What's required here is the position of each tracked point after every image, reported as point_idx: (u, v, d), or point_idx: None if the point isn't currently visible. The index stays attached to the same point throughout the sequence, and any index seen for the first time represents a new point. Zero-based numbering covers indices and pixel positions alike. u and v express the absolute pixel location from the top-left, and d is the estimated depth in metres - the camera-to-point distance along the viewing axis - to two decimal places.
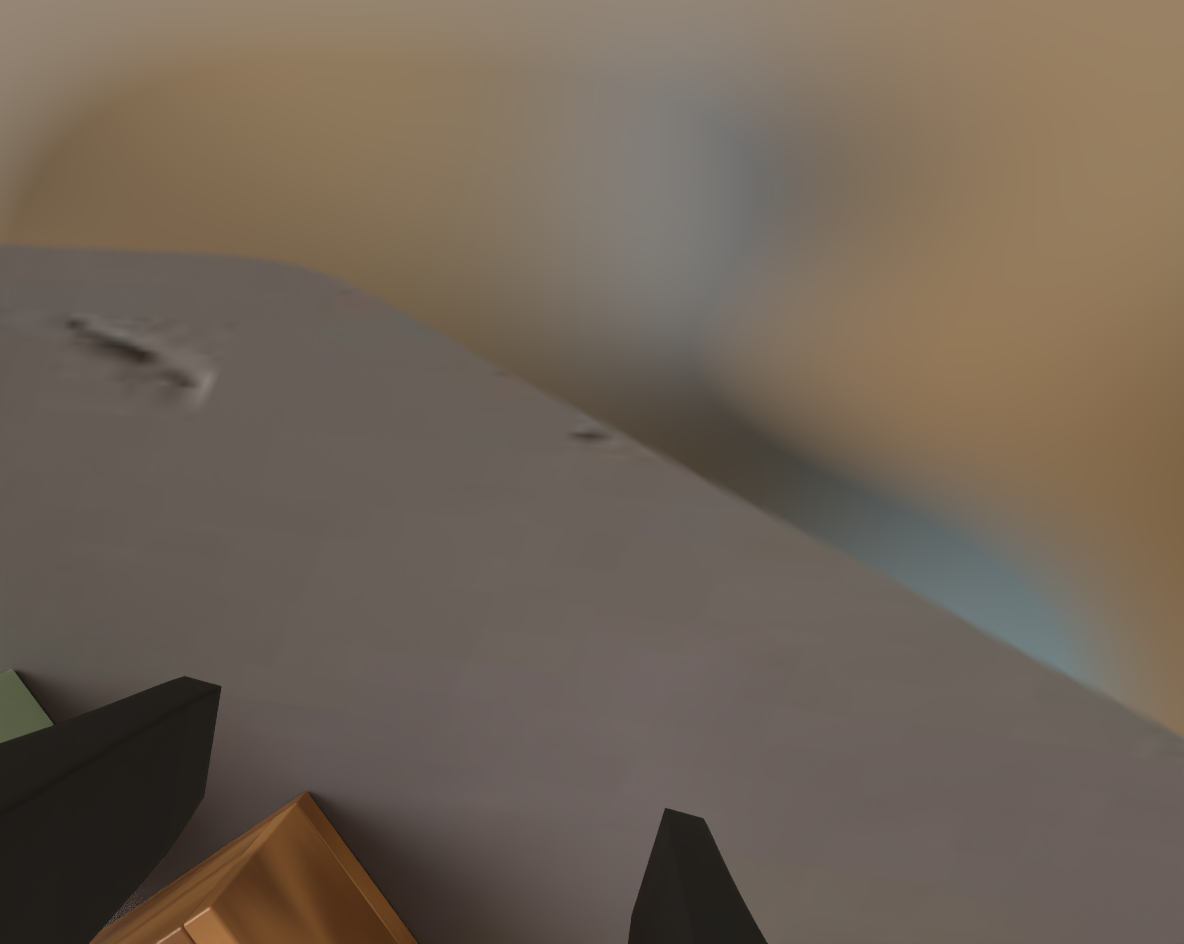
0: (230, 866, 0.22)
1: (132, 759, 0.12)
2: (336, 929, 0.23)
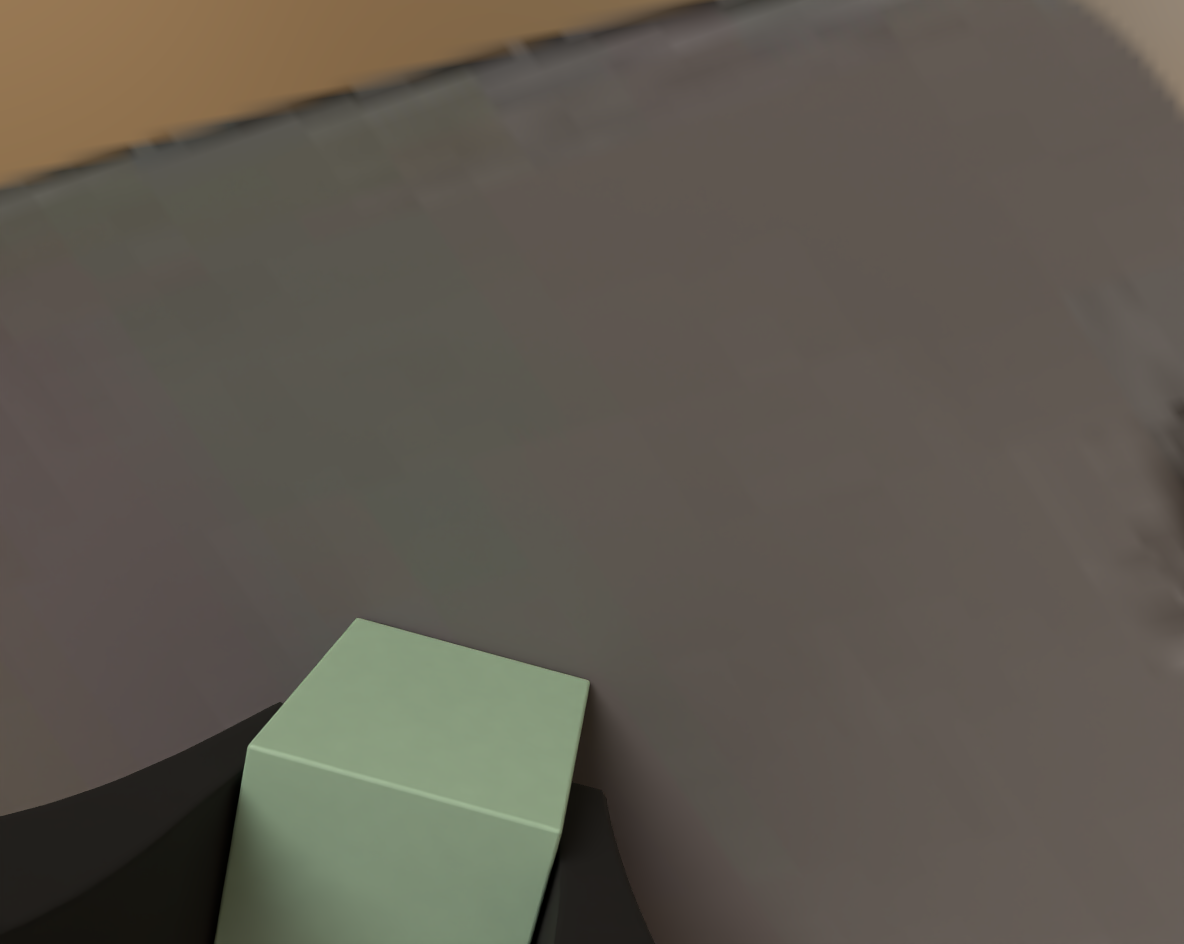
0: None
1: None
2: None
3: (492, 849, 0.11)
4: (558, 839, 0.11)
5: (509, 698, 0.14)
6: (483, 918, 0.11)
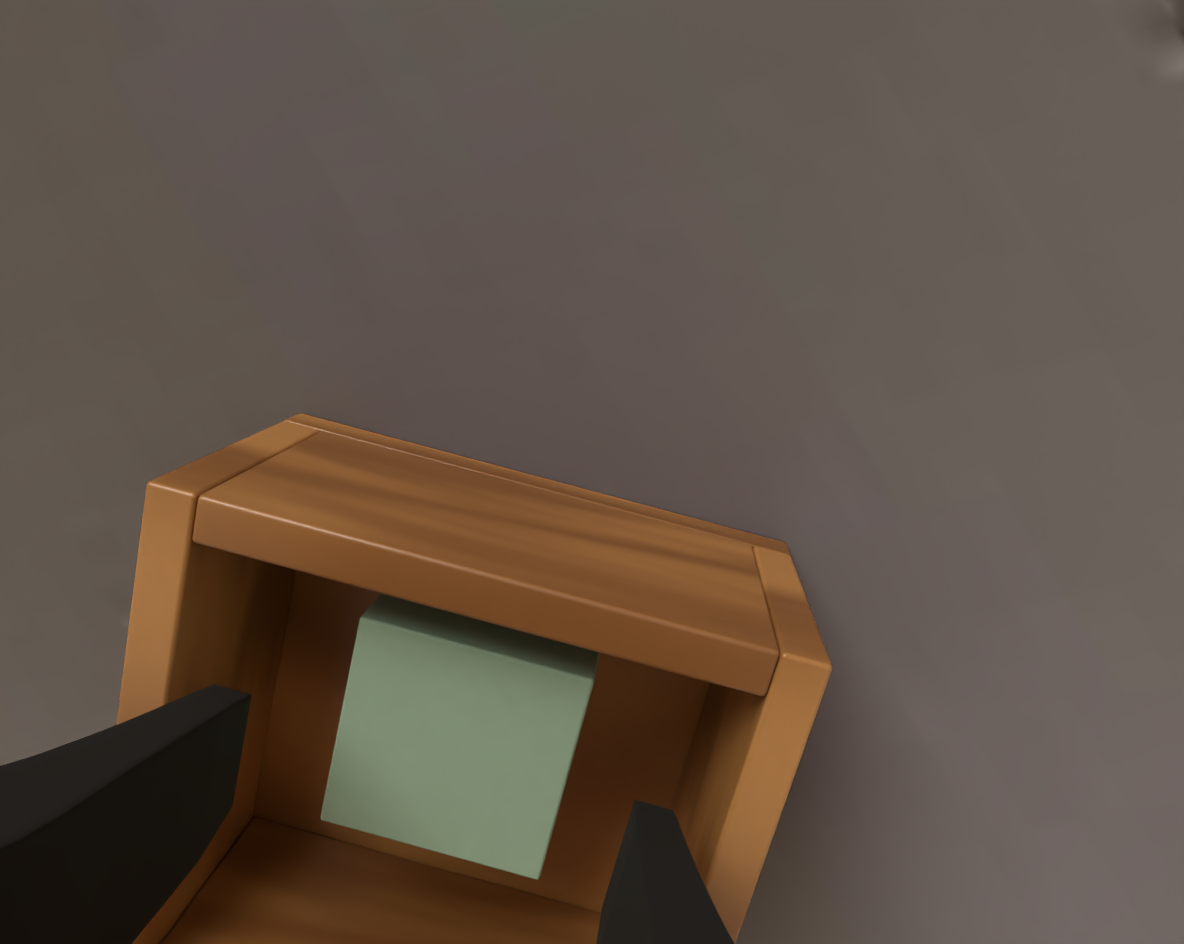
0: (758, 586, 0.16)
1: (168, 769, 0.12)
2: None
3: (542, 695, 0.15)
4: (591, 686, 0.15)
5: None
6: (535, 750, 0.15)
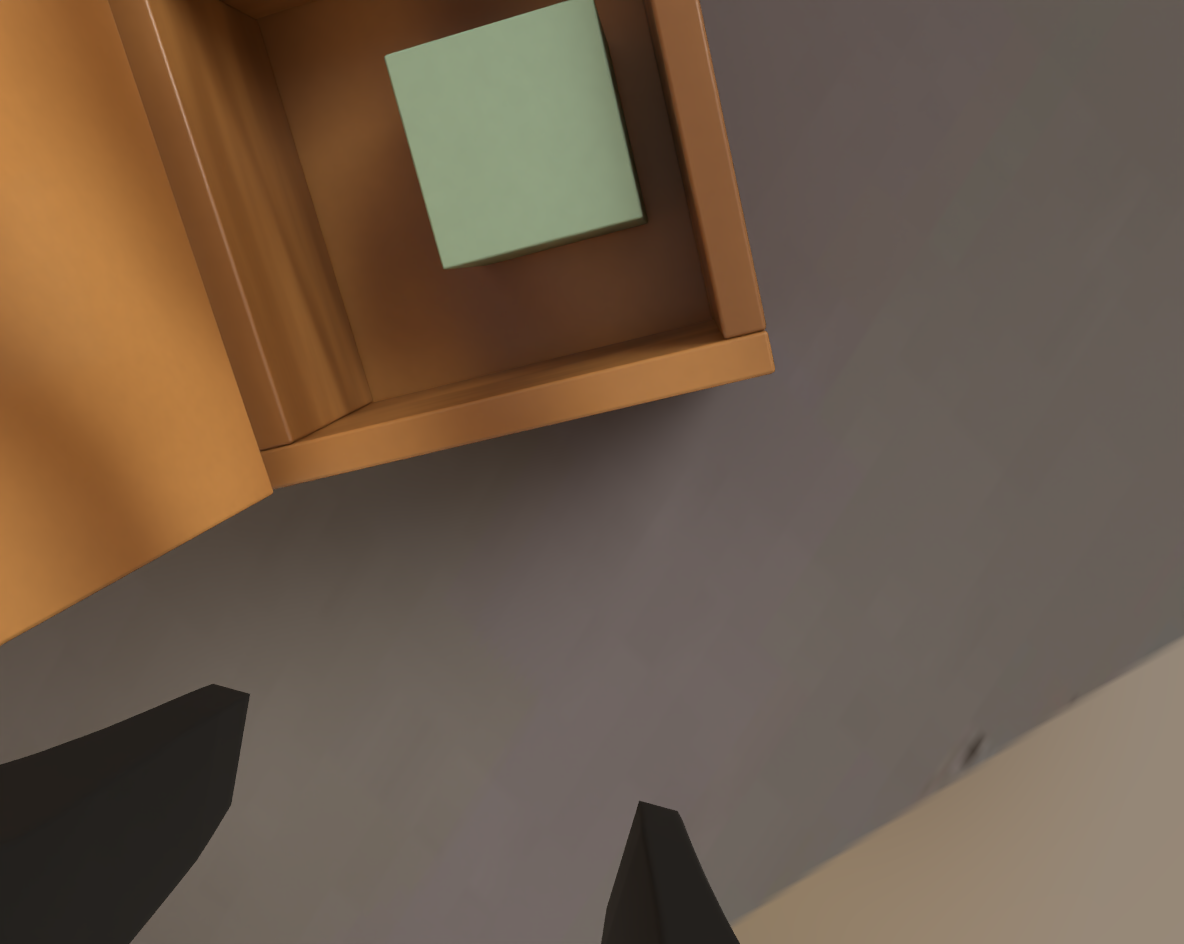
0: None
1: (166, 768, 0.12)
2: None
3: (607, 183, 0.17)
4: (636, 218, 0.17)
5: (634, 167, 0.19)
6: (557, 203, 0.17)
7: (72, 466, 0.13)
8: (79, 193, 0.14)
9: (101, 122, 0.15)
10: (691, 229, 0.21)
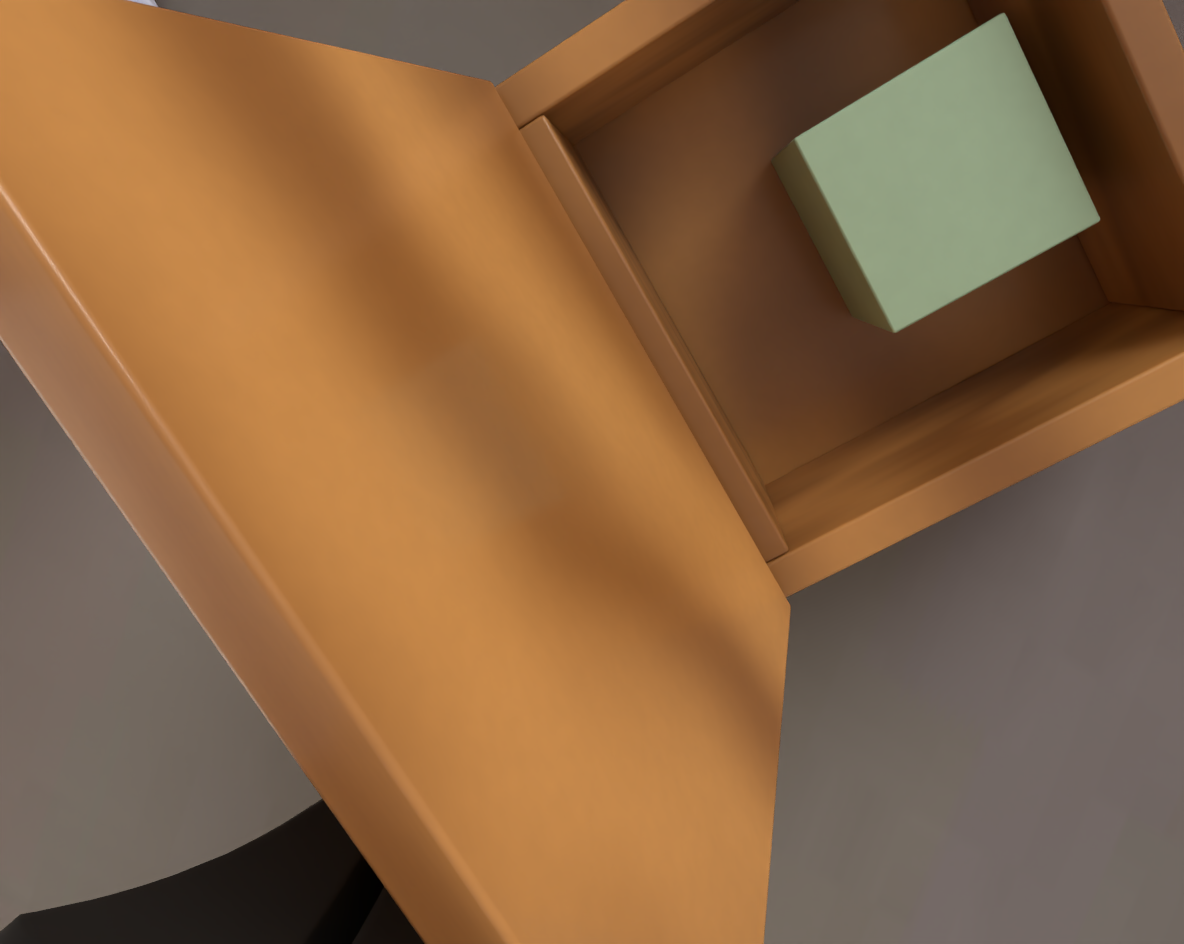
0: None
1: None
2: None
3: (1056, 196, 0.16)
4: (1095, 223, 0.16)
5: None
6: (1005, 233, 0.16)
7: (718, 655, 0.12)
8: (609, 372, 0.14)
9: (587, 292, 0.14)
10: None
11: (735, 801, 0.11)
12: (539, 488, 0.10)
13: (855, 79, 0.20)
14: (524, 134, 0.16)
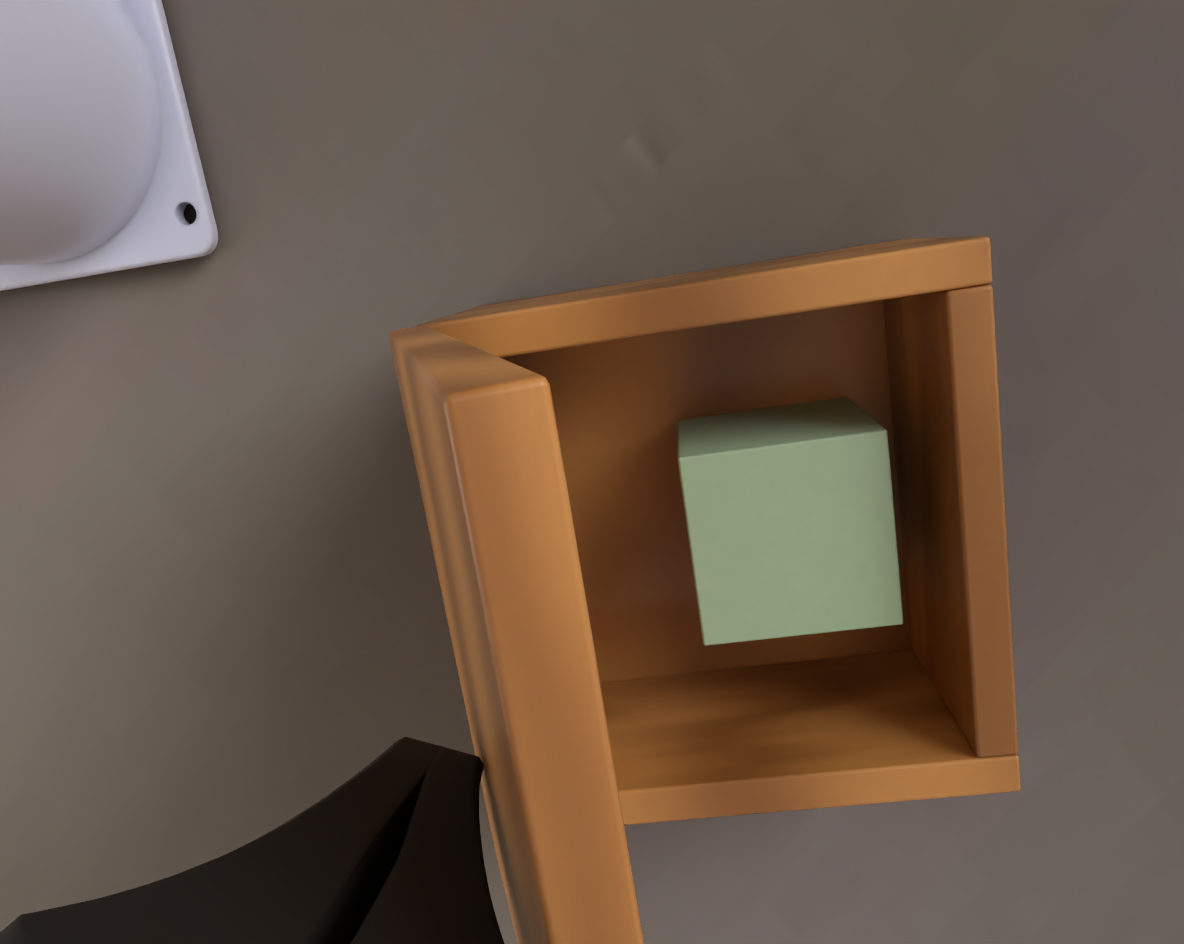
0: None
1: (393, 831, 0.12)
2: None
3: (875, 592, 0.18)
4: (897, 624, 0.18)
5: None
6: (823, 603, 0.18)
7: None
8: None
9: None
10: (903, 568, 0.22)
11: None
12: None
13: (772, 384, 0.21)
14: None
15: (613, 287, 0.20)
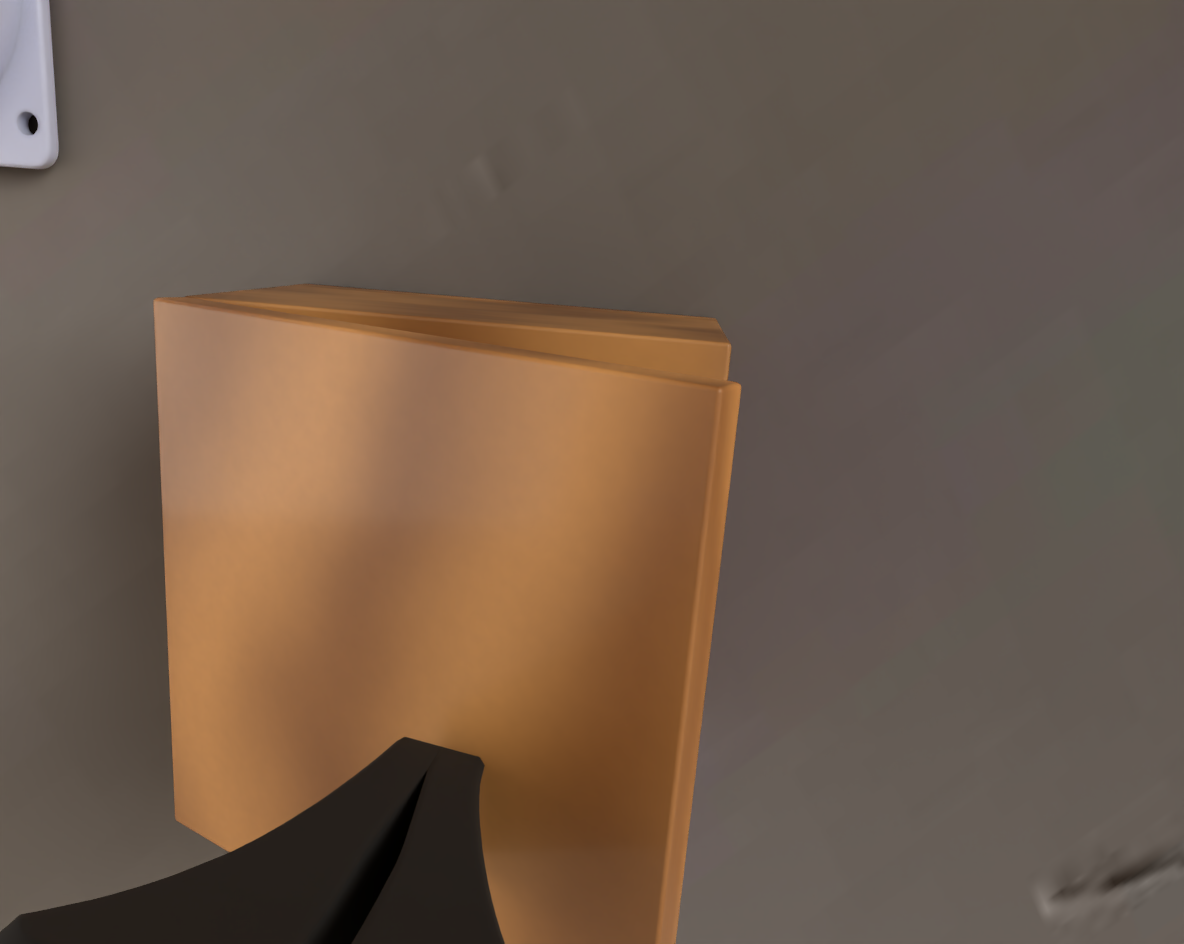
0: None
1: (393, 831, 0.12)
2: None
3: None
4: None
5: None
6: None
7: None
8: None
9: None
10: None
11: None
12: None
13: None
14: None
15: (420, 299, 0.20)
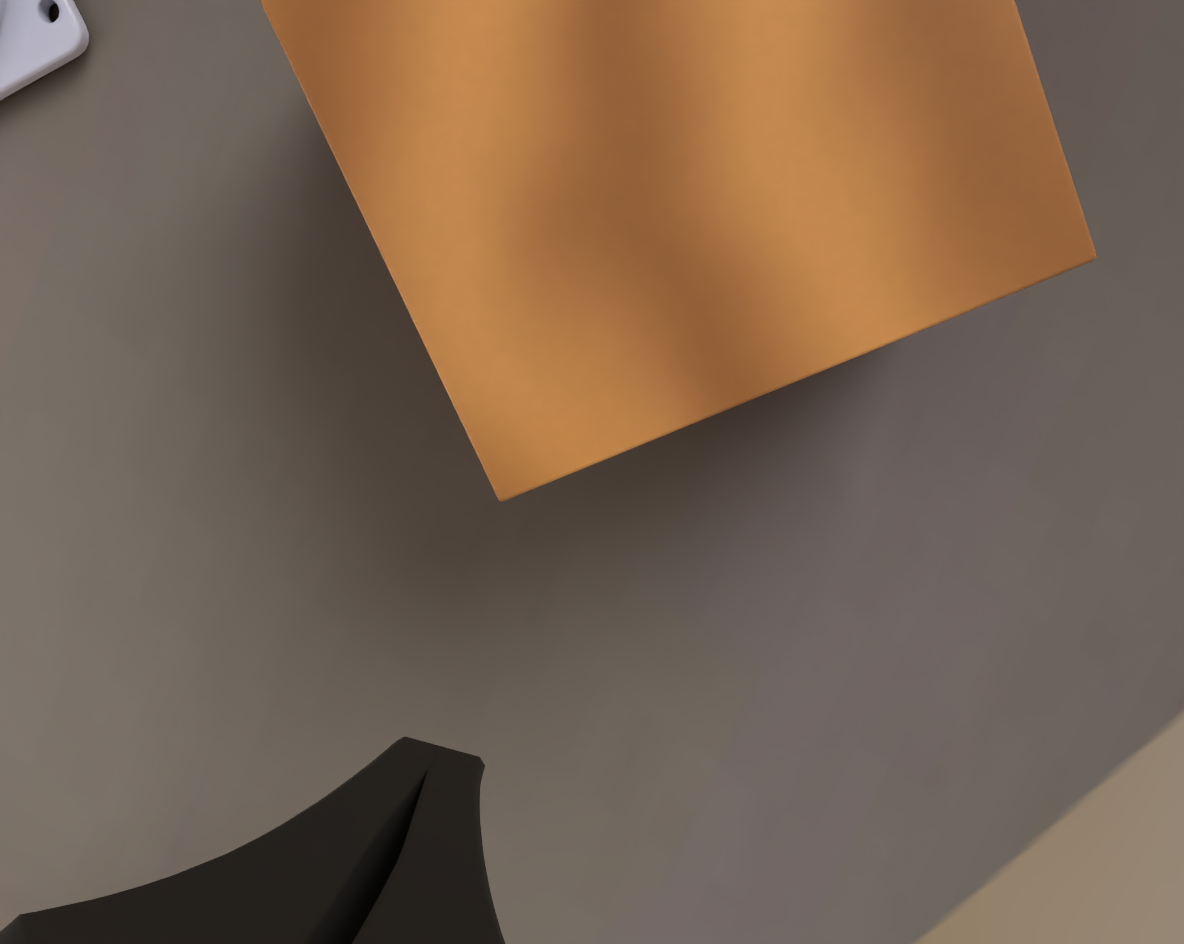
0: None
1: (393, 831, 0.12)
2: None
3: None
4: None
5: None
6: None
7: None
8: None
9: None
10: None
11: None
12: None
13: None
14: None
15: None
